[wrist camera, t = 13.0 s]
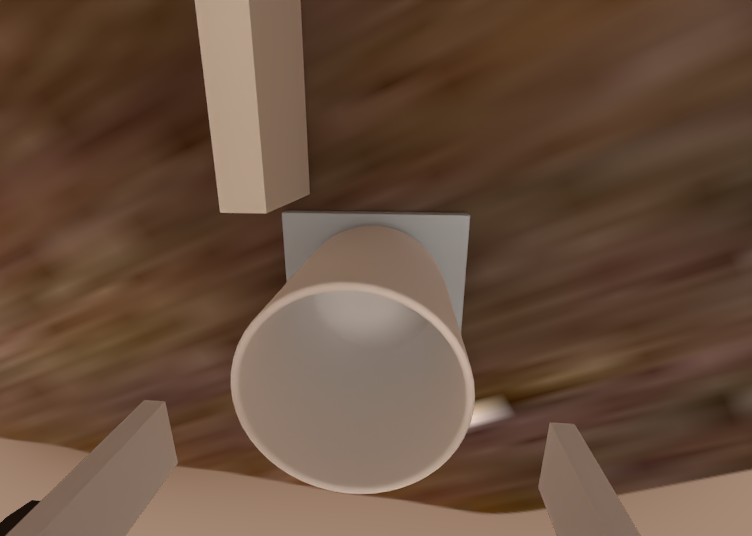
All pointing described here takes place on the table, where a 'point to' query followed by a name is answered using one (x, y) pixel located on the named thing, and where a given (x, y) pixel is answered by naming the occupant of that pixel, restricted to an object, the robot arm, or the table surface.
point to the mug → (357, 367)
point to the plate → (431, 229)
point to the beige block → (255, 101)
